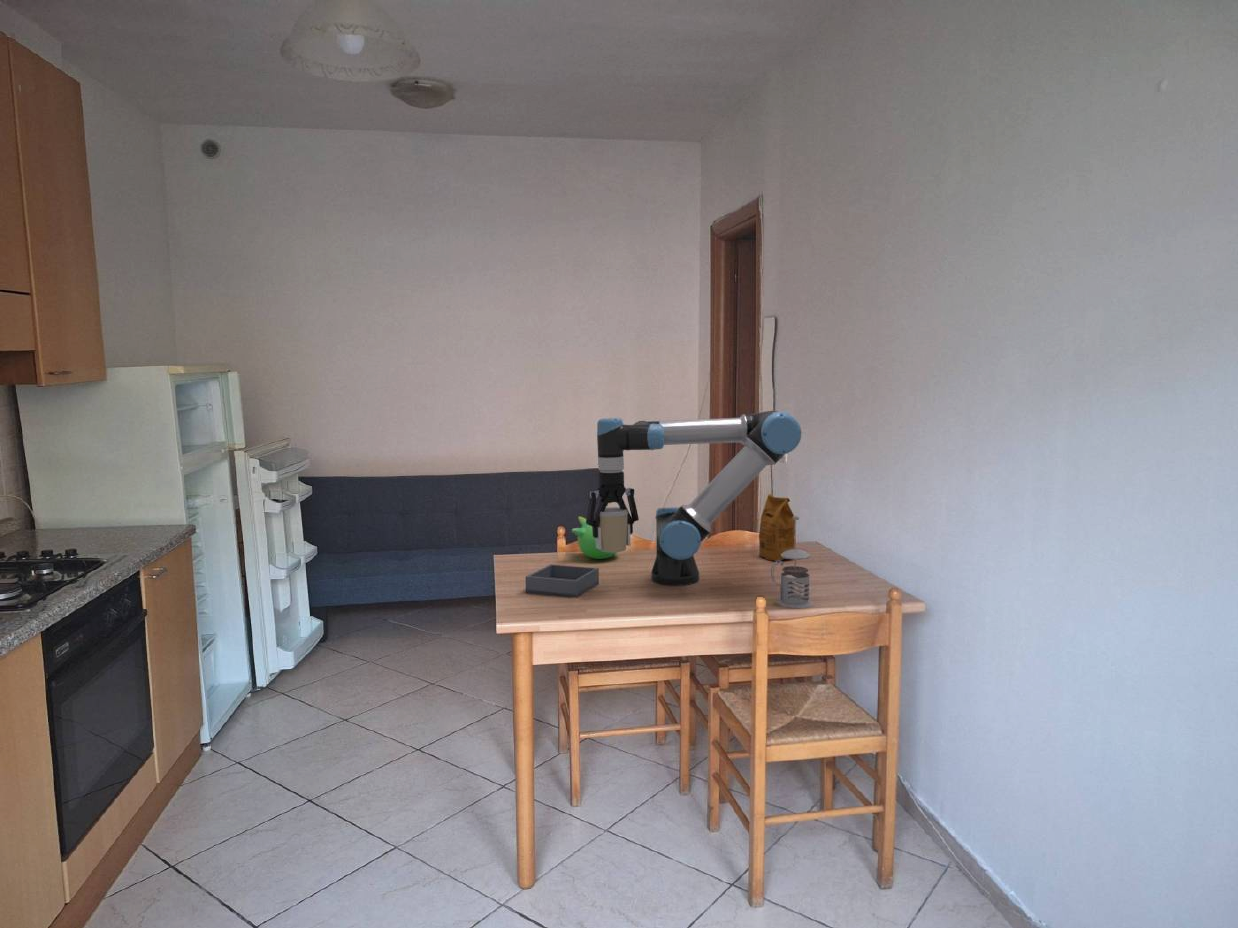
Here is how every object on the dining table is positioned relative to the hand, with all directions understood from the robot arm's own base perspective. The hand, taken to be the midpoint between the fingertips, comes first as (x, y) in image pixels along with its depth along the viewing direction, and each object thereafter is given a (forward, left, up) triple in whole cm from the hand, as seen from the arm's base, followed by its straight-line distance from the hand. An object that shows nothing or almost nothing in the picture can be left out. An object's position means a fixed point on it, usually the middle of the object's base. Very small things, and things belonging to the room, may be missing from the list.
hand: (613, 546), depth 239 cm
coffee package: (-37, -60, -14) cm, 72 cm away
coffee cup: (0, 0, -1) cm, 1 cm away
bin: (+16, +1, -14) cm, 21 cm away
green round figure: (+22, -40, -14) cm, 48 cm away
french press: (-52, -6, -14) cm, 54 cm away
